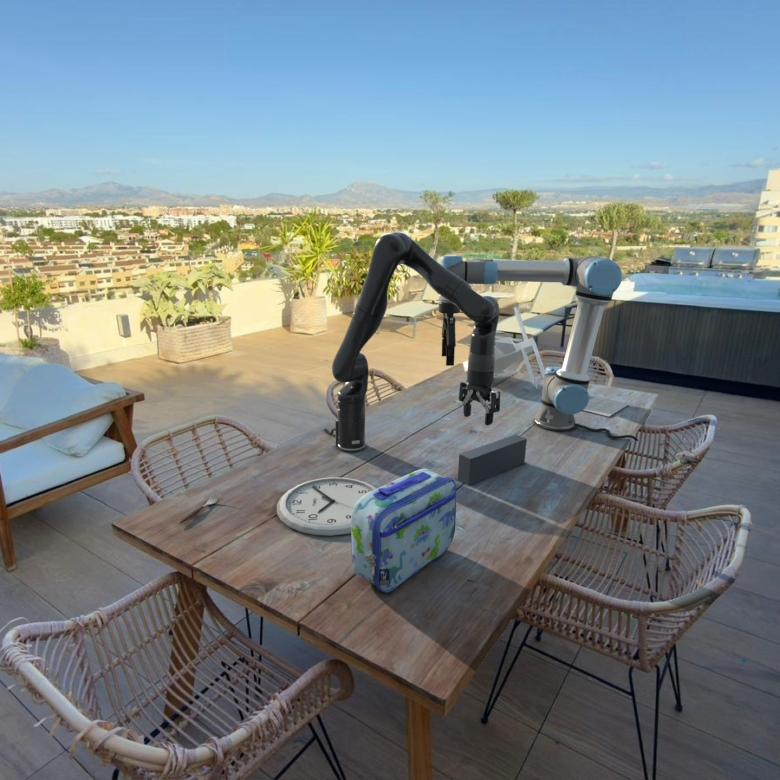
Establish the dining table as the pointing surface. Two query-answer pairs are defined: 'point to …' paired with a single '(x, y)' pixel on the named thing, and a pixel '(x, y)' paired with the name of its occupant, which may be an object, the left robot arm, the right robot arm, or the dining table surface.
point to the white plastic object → (515, 352)
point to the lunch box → (402, 527)
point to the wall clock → (322, 505)
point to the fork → (209, 502)
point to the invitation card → (603, 406)
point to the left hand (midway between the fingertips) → (477, 420)
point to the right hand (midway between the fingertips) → (447, 360)
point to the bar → (491, 459)
